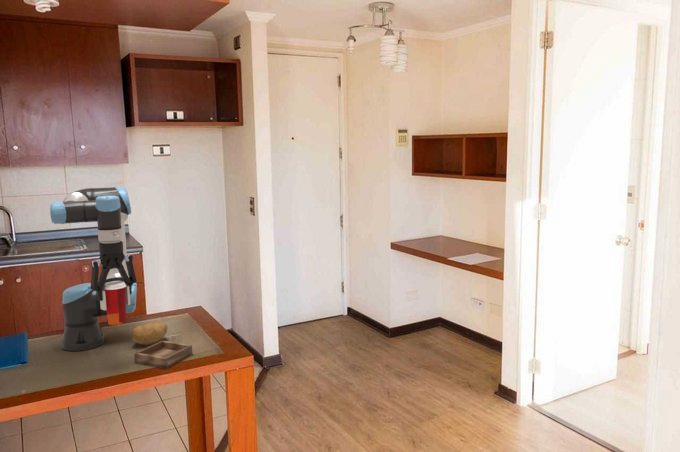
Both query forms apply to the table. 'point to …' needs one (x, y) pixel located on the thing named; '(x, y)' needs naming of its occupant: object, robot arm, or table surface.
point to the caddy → (163, 354)
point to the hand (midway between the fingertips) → (115, 306)
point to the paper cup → (115, 302)
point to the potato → (149, 333)
